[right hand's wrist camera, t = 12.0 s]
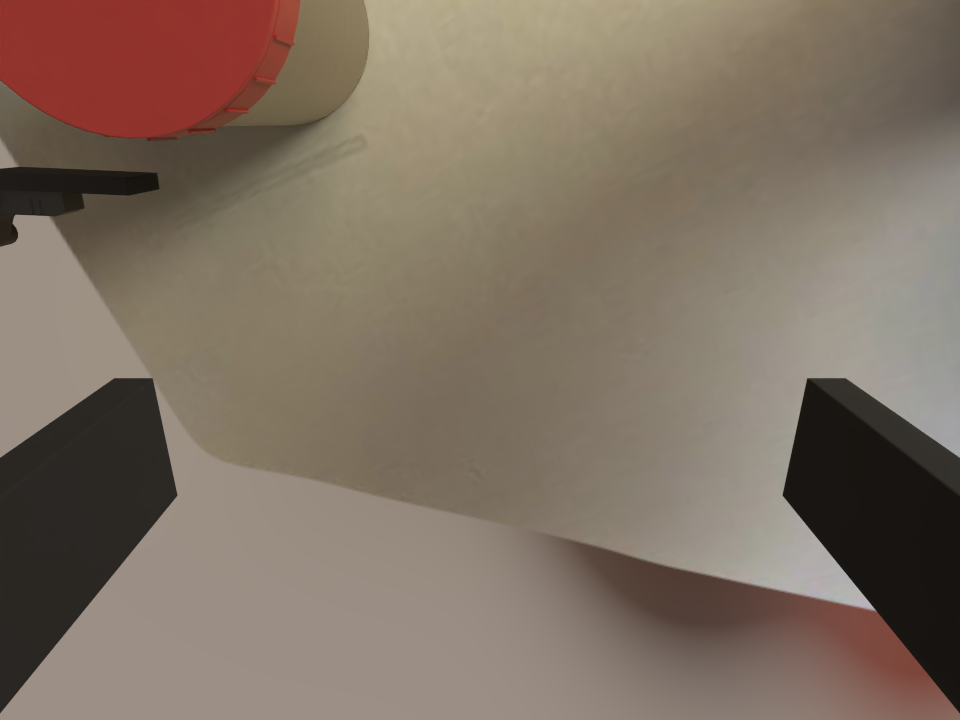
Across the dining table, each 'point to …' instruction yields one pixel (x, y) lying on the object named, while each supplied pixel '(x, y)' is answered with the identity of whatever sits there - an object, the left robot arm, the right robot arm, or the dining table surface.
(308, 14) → the jar
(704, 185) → the dining table surface
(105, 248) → the dining table surface
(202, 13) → the lid
